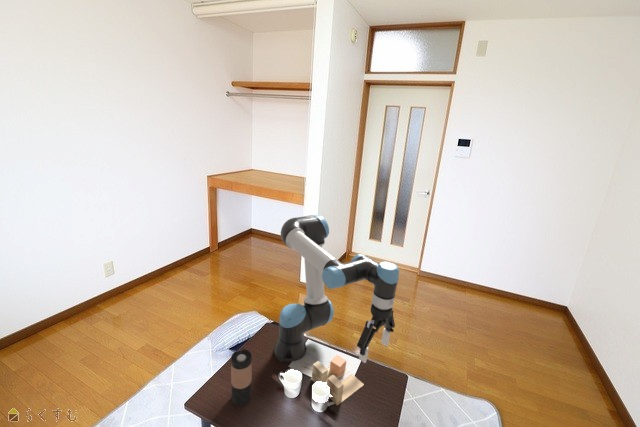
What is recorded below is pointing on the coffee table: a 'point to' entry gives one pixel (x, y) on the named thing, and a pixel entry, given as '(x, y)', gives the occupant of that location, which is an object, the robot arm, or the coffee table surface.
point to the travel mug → (241, 377)
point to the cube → (337, 365)
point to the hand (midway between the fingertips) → (373, 352)
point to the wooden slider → (323, 372)
